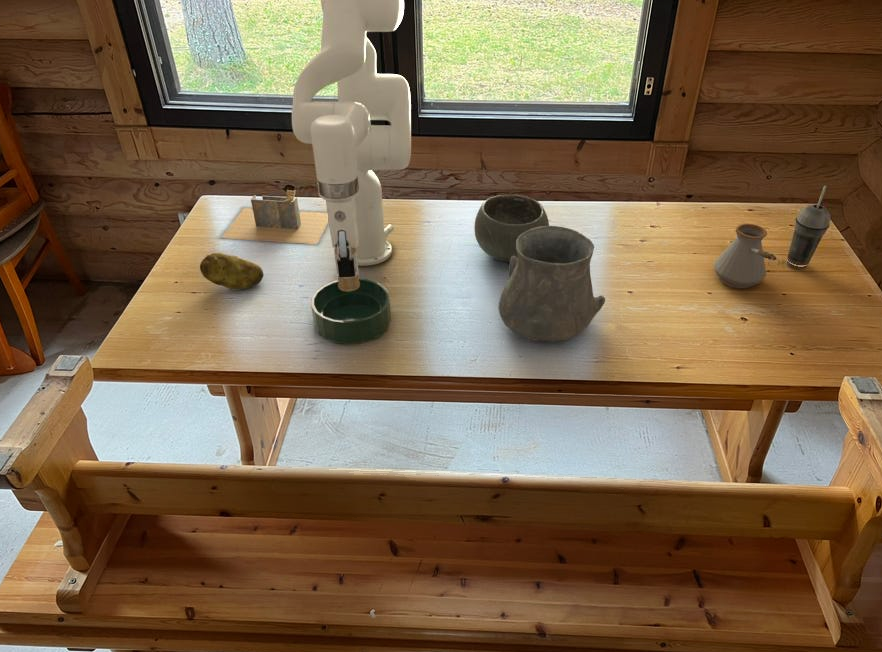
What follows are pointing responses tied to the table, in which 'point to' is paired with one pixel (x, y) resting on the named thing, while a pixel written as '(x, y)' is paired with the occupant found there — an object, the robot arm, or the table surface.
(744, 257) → the coffee pot
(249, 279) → the potato
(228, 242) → the table surface
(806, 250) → the beverage cup
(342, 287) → the sprinkles bottle
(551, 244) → the vessel
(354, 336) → the green round dish
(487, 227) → the bowl
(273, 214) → the architectural model on board
